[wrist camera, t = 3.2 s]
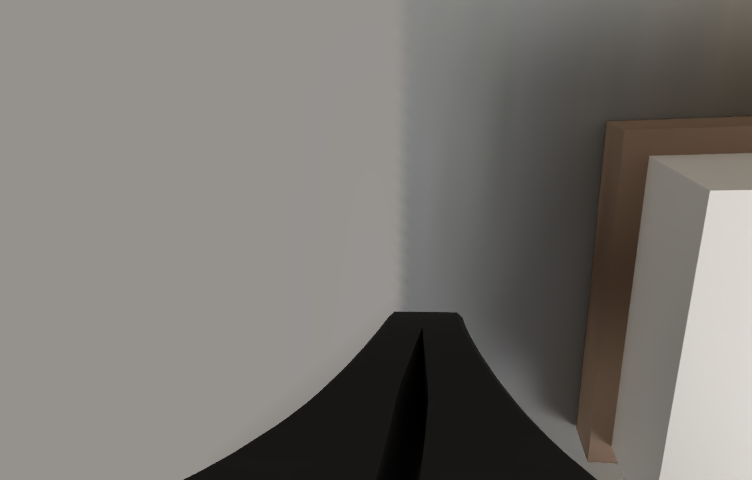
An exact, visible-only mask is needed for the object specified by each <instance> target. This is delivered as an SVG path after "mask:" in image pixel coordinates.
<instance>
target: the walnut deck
mask: <svg viewBox="0 0 752 480" xmlns="http://www.w3.org/2000/svg"><path fill="white" fill-rule="evenodd" d="M734 153H752V116H739V117H711V118H684V119H656V120H629V121H607V124H606V134H605V144H604V155H603V165H602V175H601V185H600V195H599V205H598V215H597V225H596V235H595V245H594V255H593V266H592V276H591V286H590V296H589V306H588V316H587V326H586V336H585V346H584V356H583V366H582V377H581V387H580V397H579V407H578V417H577V427H576V428H577V431H578V434H579V437H580V440H581V443H582V446H583V449H584V452H585V455H586V458H587V461H588V462H601V463H618V462H617V459H616V457H615V454H614V452H613V449H612V447H611V446H612V438H613V430H614V423H615V415H616V407H617V400H618V392H619V384H620V377H621V369H622V361H623V354H624V346H625V338H626V331H627V323H628V315H629V308H630V300H631V292H632V285H633V277H634V269H635V262H636V254H637V246H638V239H639V231H640V223H641V216H642V208H643V200H644V193H645V185H646V177H647V170H648V162H649V156H660V155H697V154H734Z"/></svg>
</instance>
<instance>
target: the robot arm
mask: <svg viewBox="0 0 752 480" xmlns="http://www.w3.org/2000/svg"><path fill="white" fill-rule="evenodd" d="M184 480H597V479H596V478H594V477H593V476H592V475H591V474H590V473H588V472H587V471H586V470H585V469H583V468H582V467H581V466H580V465H579V464H577V463H576V462H575V461H574V460H573V459H571V458H570V457H569V456H568V455H567V454H565V453H564V452H563V451H562V450H561V449H560V448H559V447H558V446H557V445H556V444H555V443H554V442H553V441H552V440H551V439H549V438H548V437H547V435H546V434H545V433H544V432H543V431H542V430H541V429H540V428H539V427H538V426H537V425H536V424H535V423H534V422H533V421H532V420H531V419H530V418H529V417H528V416H527V414H526V413H525V412H524V411H523V410H522V409H521V408H520V407H519V405H518V404H517V403H516V402H515V401H514V399H513V398H512V397H511V396H510V394H509V393H508V392H507V391H506V389H505V388H504V387H503V386H502V384H501V383H500V382H499V380H498V379H497V378H496V376H495V375H494V373H493V372H492V370H491V369H490V367H489V366H488V364H487V363H486V362H485V360H484V359H483V357H482V356H481V354H480V352H479V351H478V349H477V347H476V346H475V344H474V342H473V340H472V339H471V337H470V335H469V333H468V331H467V329H466V326H465V324H464V321H463V318H462V317H461V316H460V315H459V314H458V313H450V312H394V313H393V314H392V315H390V316H389V317H388V319H387V320H386V321H385V323H384V324H383V325H382V326H381V328H380V329H379V330H378V331H377V332H376V334H375V335H374V336H373V337H372V338H371V340H370V341H369V342H368V343H367V344H366V345H365V347H364V348H363V349H362V350H361V351H360V352H359V353H358V354H357V355H356V357H354V359H353V360H352V361H351V362H350V363H349V364H348V365H347V366H346V367H345V368H344V369H343V370H342V371H341V372H340V373H339V374H338V375H337V376H336V377H335V378H334V379H333V380H332V381H331V382H329V384H328V385H326V386H325V387H324V388H323V389H322V390H321V391H320V392H319V393H318V394H317V395H315V396H314V397H313V398H312V399H311V400H310V401H308V402H307V403H306V404H305V405H304V406H302V407H301V408H300V409H298V410H297V411H296V412H294V413H293V414H292V415H290V416H289V417H288V418H286V419H285V420H284V421H282V422H281V423H279V424H278V425H276V426H275V427H273V428H272V429H270V430H269V431H267V432H265V433H264V434H262V435H261V436H259V437H258V438H256V439H254V440H253V441H251V442H250V443H248V444H247V445H245V446H244V447H242V448H240V449H239V450H237V451H236V452H234V453H232V454H231V455H229V456H227V457H226V458H224V459H222V460H220V461H218V462H216V463H215V464H213V465H211V466H209V467H207V468H206V469H204V470H202V471H200V472H198V473H196V474H194V475H192V476H190V477H188V478H186V479H184Z"/></svg>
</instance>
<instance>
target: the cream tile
mask: <svg viewBox="0 0 752 480" xmlns="http://www.w3.org/2000/svg"><path fill="white" fill-rule="evenodd" d="M611 447H612V449H613V452H614V454H615V457H616V459H617V462H618V464H619V467H620V469H621V472H622V474H623V477H624V479H625V480H752V153H734V154H697V155H660V156H649V162H648V170H647V177H646V185H645V193H644V200H643V208H642V216H641V223H640V231H639V239H638V246H637V254H636V262H635V269H634V277H633V285H632V292H631V300H630V308H629V315H628V323H627V331H626V338H625V346H624V354H623V361H622V369H621V377H620V384H619V392H618V400H617V407H616V415H615V423H614V430H613V438H612V446H611Z"/></svg>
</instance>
